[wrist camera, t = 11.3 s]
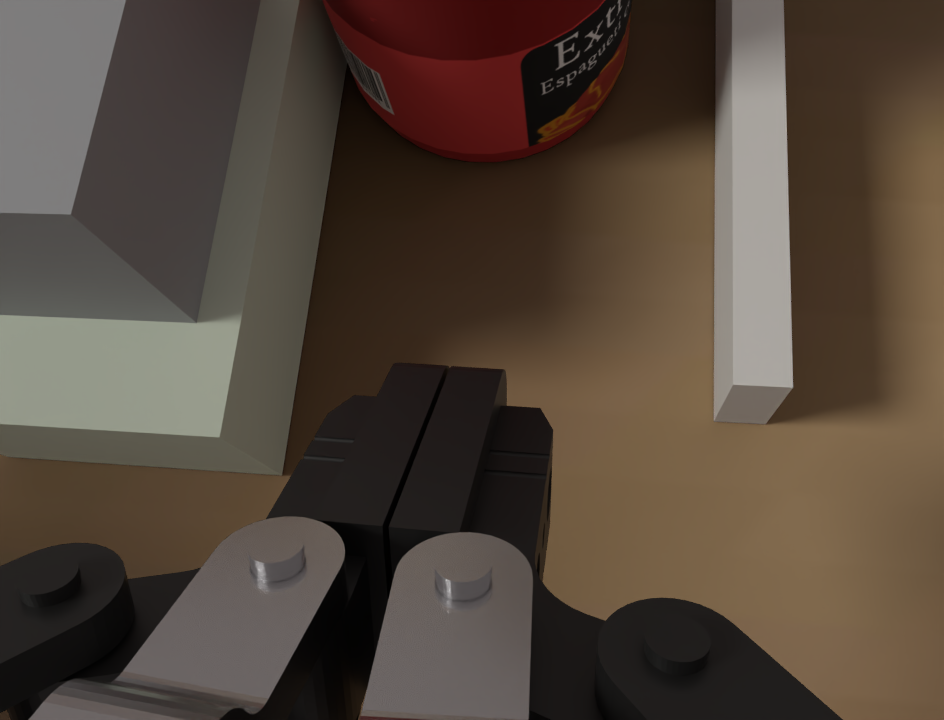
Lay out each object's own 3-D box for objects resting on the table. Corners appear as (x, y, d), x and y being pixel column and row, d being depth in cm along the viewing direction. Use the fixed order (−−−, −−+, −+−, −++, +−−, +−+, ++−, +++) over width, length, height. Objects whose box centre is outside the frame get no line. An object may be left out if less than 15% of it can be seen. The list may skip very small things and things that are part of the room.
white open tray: (766, 508, 20) (892, 400, 12) (8, 456, 23) (-323, 339, 15) (757, -155, 27) (836, -534, 18) (159, -133, 29) (-13, -454, 21)
